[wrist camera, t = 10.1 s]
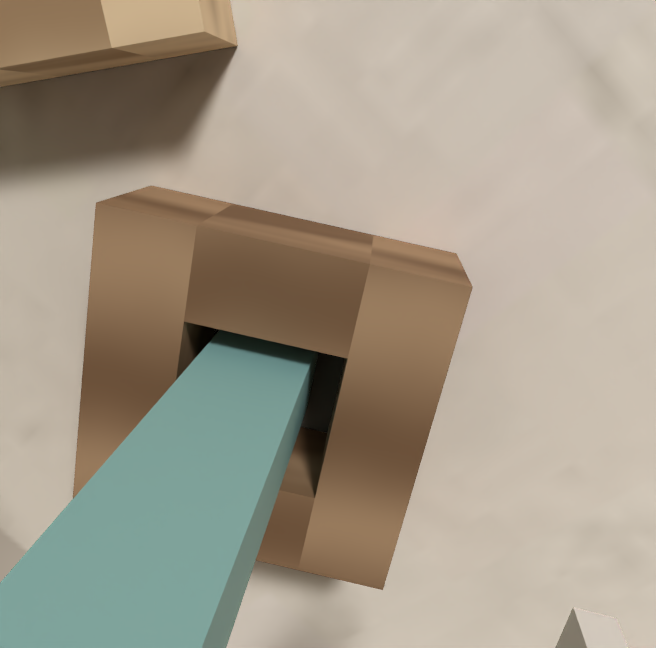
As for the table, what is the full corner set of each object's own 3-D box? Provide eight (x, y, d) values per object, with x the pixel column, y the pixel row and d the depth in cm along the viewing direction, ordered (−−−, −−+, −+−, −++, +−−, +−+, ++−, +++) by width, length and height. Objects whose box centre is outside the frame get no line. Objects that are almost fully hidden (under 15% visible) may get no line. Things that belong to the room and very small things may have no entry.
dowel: (237, 309, 21) (-45, 634, 8) (323, 329, 21) (183, 694, 8) (224, 388, 22) (-45, 793, 9) (306, 408, 22) (158, 850, 9)
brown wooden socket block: (151, 185, 20) (96, 202, 16) (456, 253, 20) (472, 287, 16) (122, 451, 23) (71, 517, 19) (383, 511, 23) (382, 589, 19)
